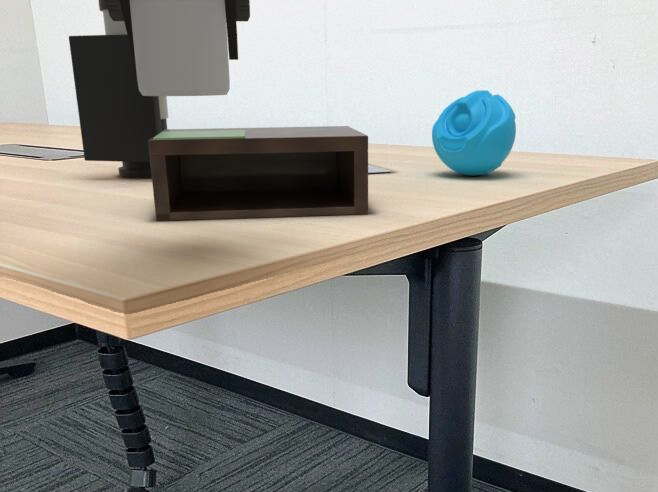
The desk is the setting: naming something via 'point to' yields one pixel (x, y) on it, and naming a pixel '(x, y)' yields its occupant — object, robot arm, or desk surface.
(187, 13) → the cup
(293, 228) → the desk surface
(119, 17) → the robot arm
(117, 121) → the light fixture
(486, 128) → the blue rounded piece
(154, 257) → the desk surface
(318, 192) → the shelf
